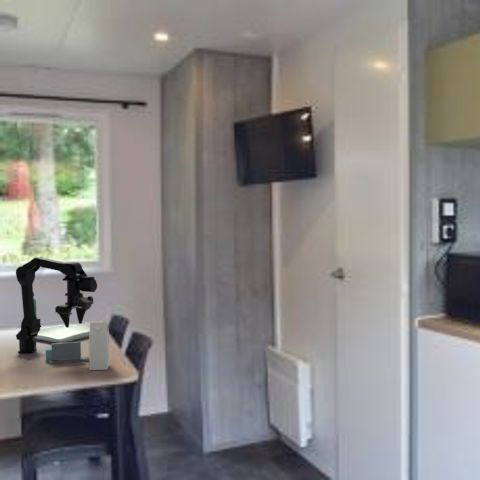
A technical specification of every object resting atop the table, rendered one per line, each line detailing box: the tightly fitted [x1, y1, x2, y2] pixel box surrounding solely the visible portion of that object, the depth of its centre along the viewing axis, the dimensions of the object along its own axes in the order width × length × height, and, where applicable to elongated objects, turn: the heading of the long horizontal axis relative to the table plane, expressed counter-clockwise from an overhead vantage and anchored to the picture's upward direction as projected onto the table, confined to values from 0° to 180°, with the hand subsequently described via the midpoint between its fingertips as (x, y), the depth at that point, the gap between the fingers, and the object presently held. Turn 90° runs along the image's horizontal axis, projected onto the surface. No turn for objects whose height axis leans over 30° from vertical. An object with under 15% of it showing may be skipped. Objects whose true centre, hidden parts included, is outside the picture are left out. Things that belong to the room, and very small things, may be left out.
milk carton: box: [88, 321, 110, 371], centre depth 248 cm, size 7×7×19 cm
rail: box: [48, 356, 90, 365], centre depth 259 cm, size 21×4×1 cm, turn 107°
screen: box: [51, 341, 82, 360], centre depth 258 cm, size 12×1×7 cm, turn 107°
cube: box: [45, 346, 52, 362], centre depth 261 cm, size 5×5×5 cm
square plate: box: [35, 323, 90, 343], centre depth 305 cm, size 27×27×4 cm
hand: (74, 325), depth 268 cm, fingers open, 9 cm apart
